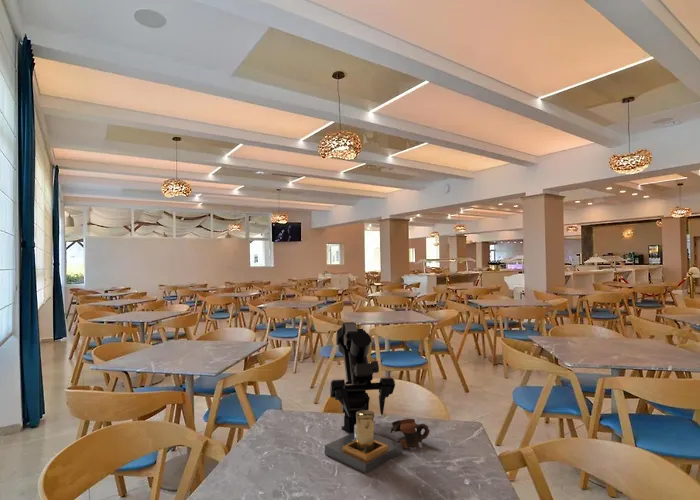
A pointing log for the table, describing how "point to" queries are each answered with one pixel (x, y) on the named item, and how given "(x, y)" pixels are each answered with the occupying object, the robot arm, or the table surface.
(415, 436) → the pottery mug
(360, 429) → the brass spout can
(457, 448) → the table surface
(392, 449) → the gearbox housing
